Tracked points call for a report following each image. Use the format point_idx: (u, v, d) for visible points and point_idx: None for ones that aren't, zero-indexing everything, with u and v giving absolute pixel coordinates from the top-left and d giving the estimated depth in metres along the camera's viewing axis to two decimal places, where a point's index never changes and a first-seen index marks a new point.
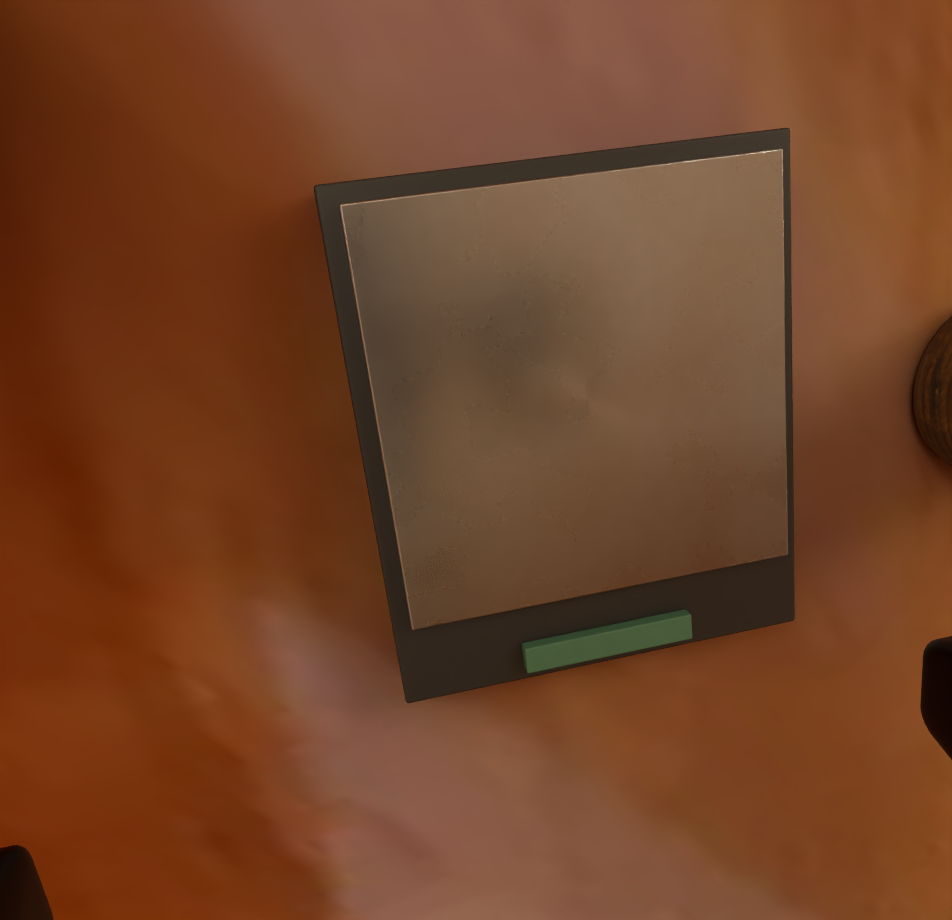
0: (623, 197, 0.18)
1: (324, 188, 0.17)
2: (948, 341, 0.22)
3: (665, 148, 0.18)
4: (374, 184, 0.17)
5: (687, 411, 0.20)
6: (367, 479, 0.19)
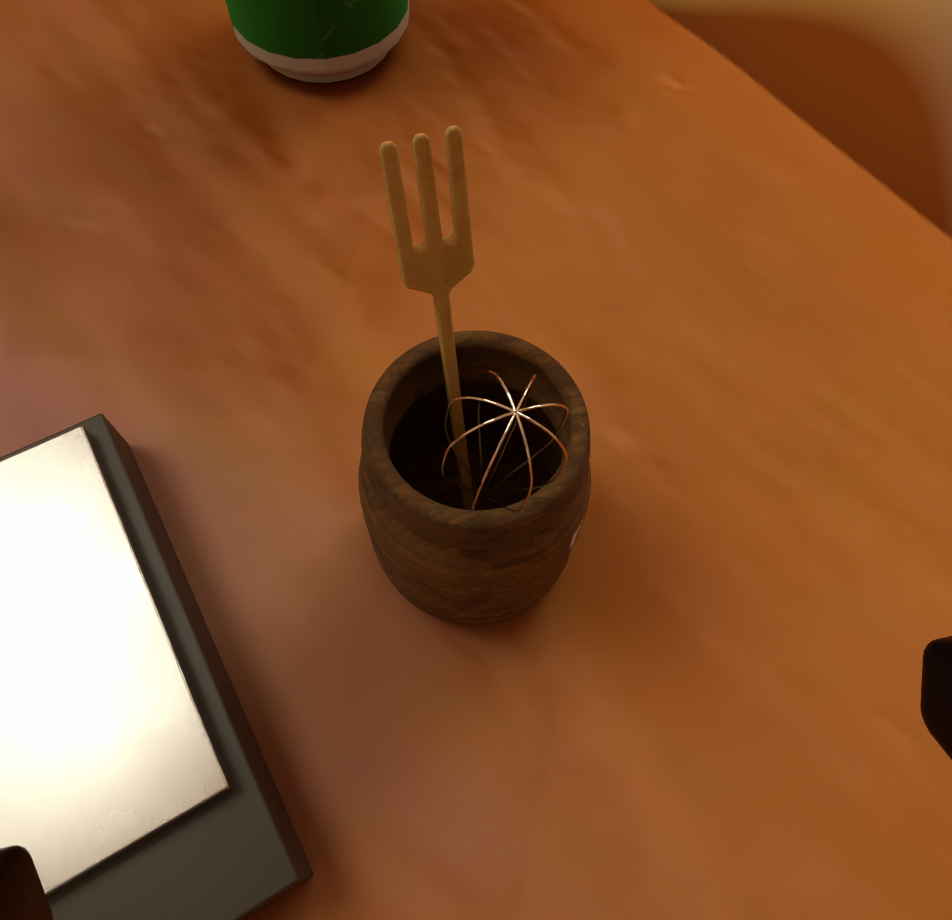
0: None
1: None
2: None
3: None
4: None
5: (45, 669, 0.18)
6: None
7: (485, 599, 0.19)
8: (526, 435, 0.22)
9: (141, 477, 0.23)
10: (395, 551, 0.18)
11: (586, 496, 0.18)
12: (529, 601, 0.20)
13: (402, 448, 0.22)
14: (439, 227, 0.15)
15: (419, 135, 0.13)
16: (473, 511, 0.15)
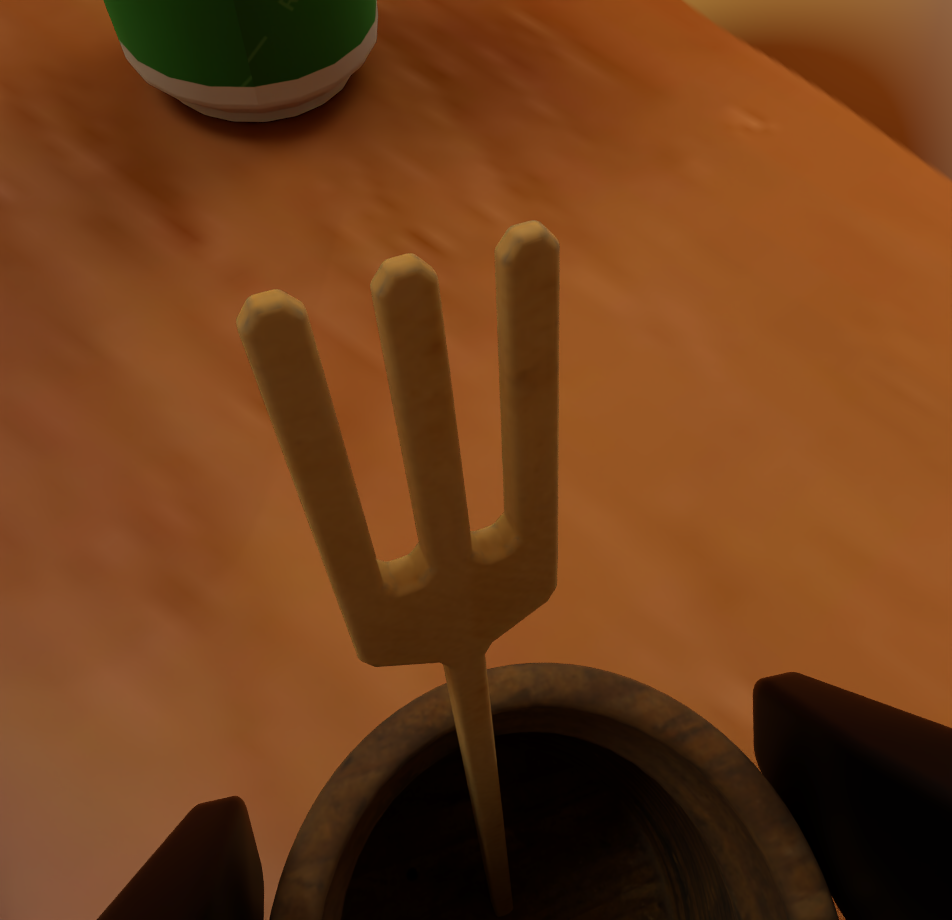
0: None
1: None
2: None
3: None
4: None
5: None
6: None
7: None
8: (605, 751, 0.12)
9: None
10: None
11: None
12: None
13: None
14: (465, 524, 0.05)
15: (398, 265, 0.03)
16: None
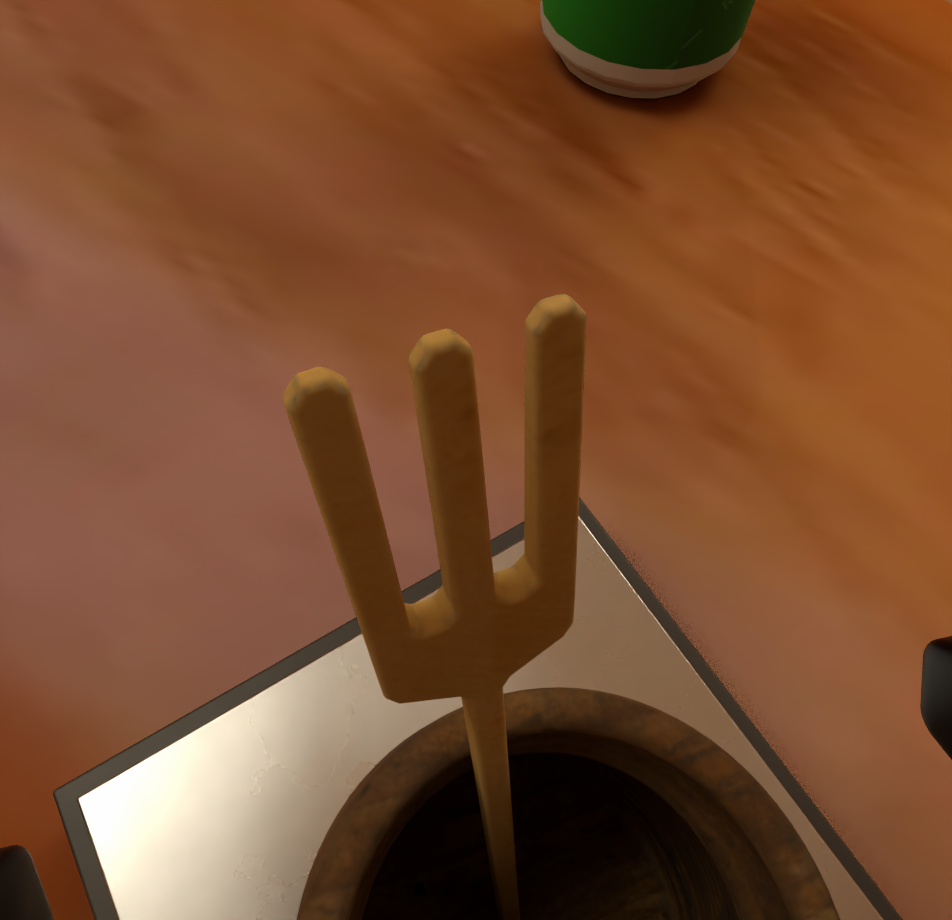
0: None
1: (66, 788, 0.14)
2: None
3: None
4: (127, 755, 0.14)
5: None
6: None
7: None
8: (609, 765, 0.12)
9: None
10: None
11: None
12: None
13: None
14: (489, 570, 0.05)
15: (436, 342, 0.03)
16: None
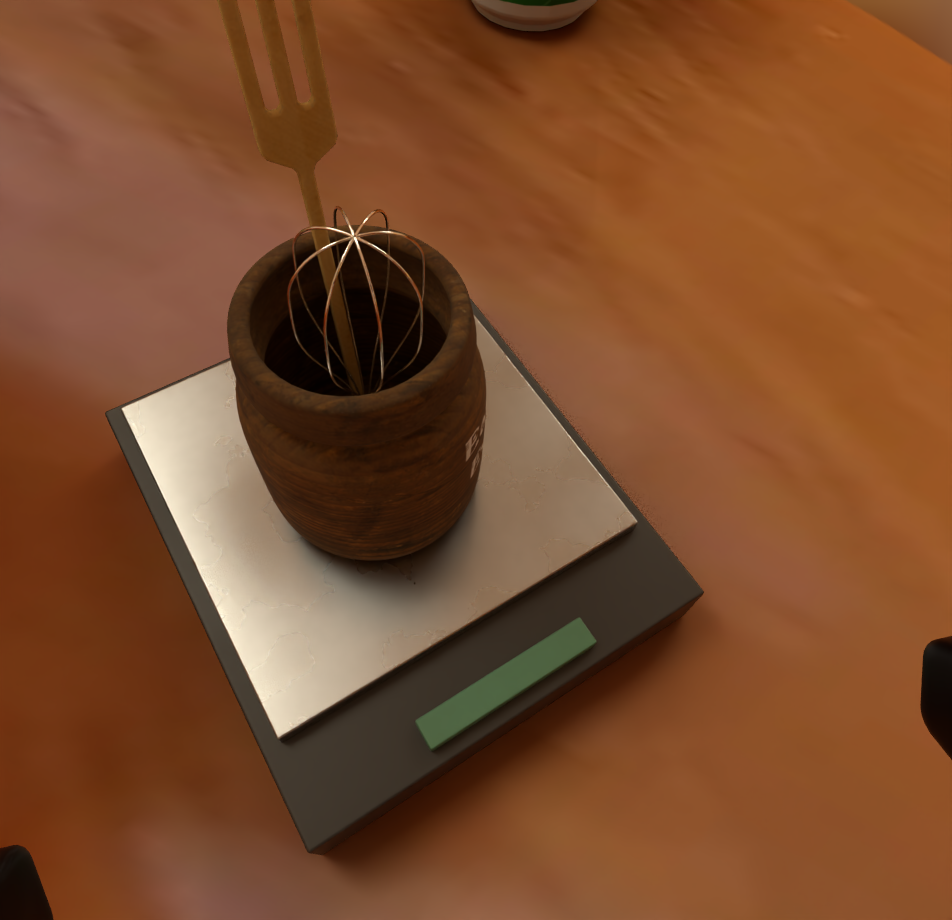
0: None
1: (113, 411, 0.23)
2: None
3: None
4: (150, 395, 0.23)
5: None
6: (196, 608, 0.20)
7: (376, 518, 0.17)
8: (428, 362, 0.21)
9: None
10: (272, 462, 0.16)
11: (479, 400, 0.17)
12: (431, 529, 0.19)
13: (295, 378, 0.20)
14: (292, 86, 0.14)
15: None
16: (343, 397, 0.14)
